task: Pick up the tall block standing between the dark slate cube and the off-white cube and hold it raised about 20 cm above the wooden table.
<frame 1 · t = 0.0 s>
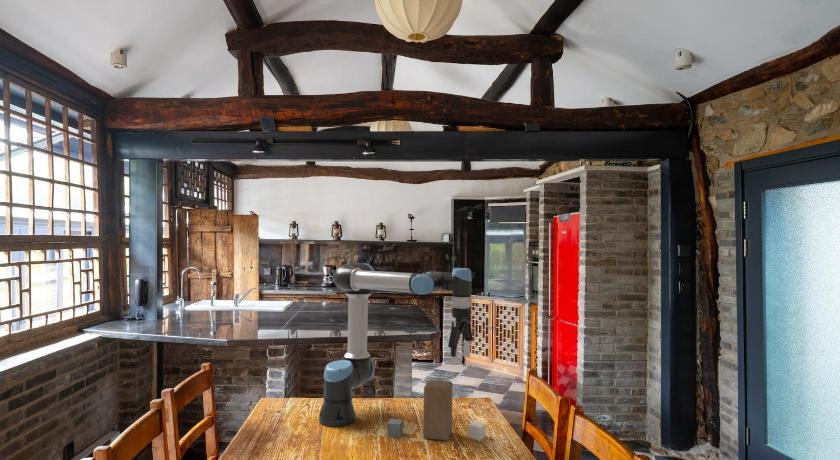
hand: (460, 360, 192), 28 cm above the table, tool pointing down, fingers open, 13 cm apart
white cube: (476, 437, 187), on the table
block: (437, 435, 188), on the table
slate cube: (395, 434, 188), on the table
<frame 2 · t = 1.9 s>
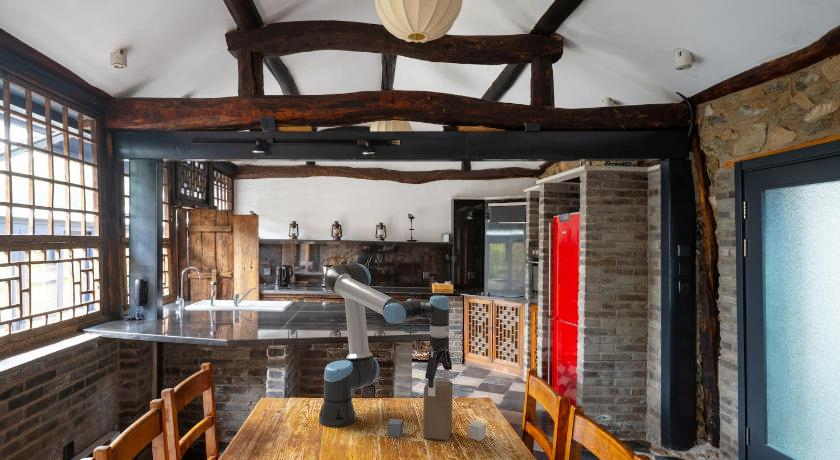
hand: (439, 391, 188), 17 cm above the table, tool pointing down, fingers open, 13 cm apart
nothing on the table moved.
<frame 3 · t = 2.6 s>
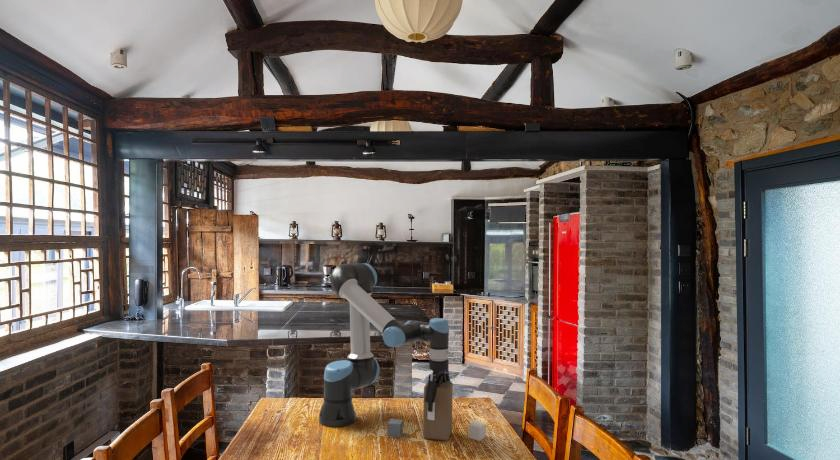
hand: (438, 413, 188), 8 cm above the table, tool pointing down, fingers open, 13 cm apart
nothing on the table moved.
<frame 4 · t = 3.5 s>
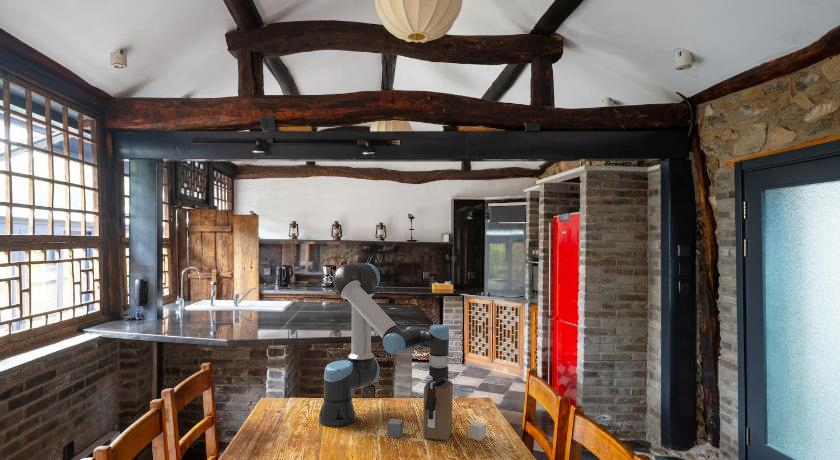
hand: (437, 422, 188), 5 cm above the table, tool pointing down, fingers closed on block, 11 cm apart
block: (437, 435, 188), on the table, touching gripper
everything else where it was.
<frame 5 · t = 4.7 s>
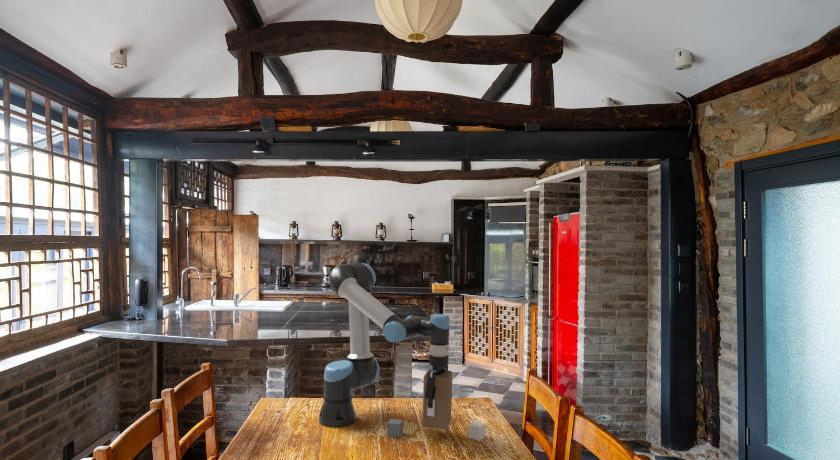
hand: (437, 410, 188), 9 cm above the table, tool pointing down, fingers closed on block, 11 cm apart
block: (436, 424, 188), point 4 cm above the table, touching gripper
everything else where it was.
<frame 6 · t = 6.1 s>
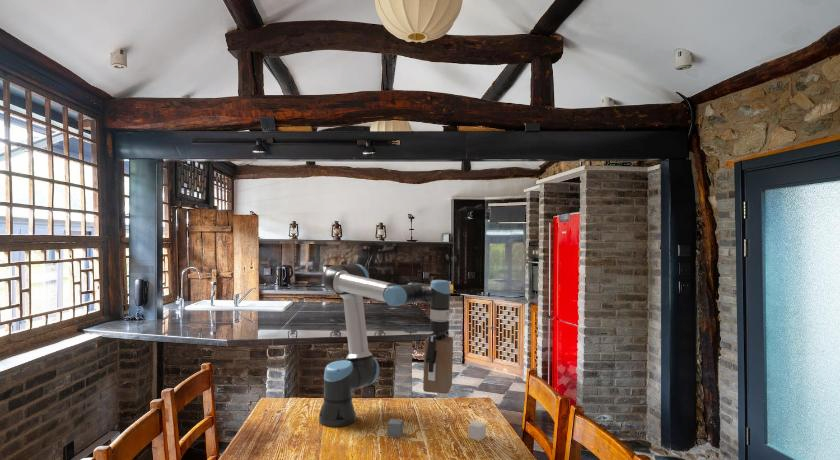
hand: (438, 376, 188), 23 cm above the table, tool pointing down, fingers closed on block, 11 cm apart
block: (437, 390, 188), point 17 cm above the table, touching gripper
everything else where it was.
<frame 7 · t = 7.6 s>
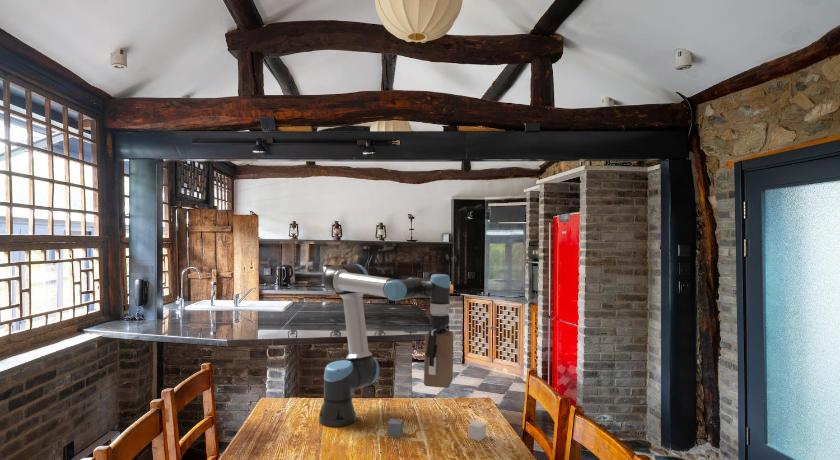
hand: (438, 370, 188), 25 cm above the table, tool pointing down, fingers closed on block, 11 cm apart
block: (438, 384, 188), point 20 cm above the table, touching gripper
everything else where it was.
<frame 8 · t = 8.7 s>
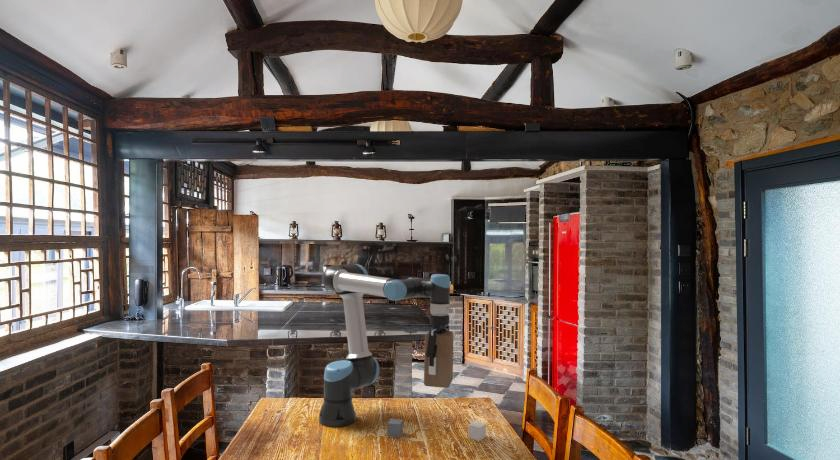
hand: (438, 370, 188), 25 cm above the table, tool pointing down, fingers closed on block, 11 cm apart
block: (438, 384, 188), point 20 cm above the table, touching gripper
everything else where it was.
at the end: the gripper is holding block; block point 19.6 cm above the table; slate cube moved 0.1 cm from its start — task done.
